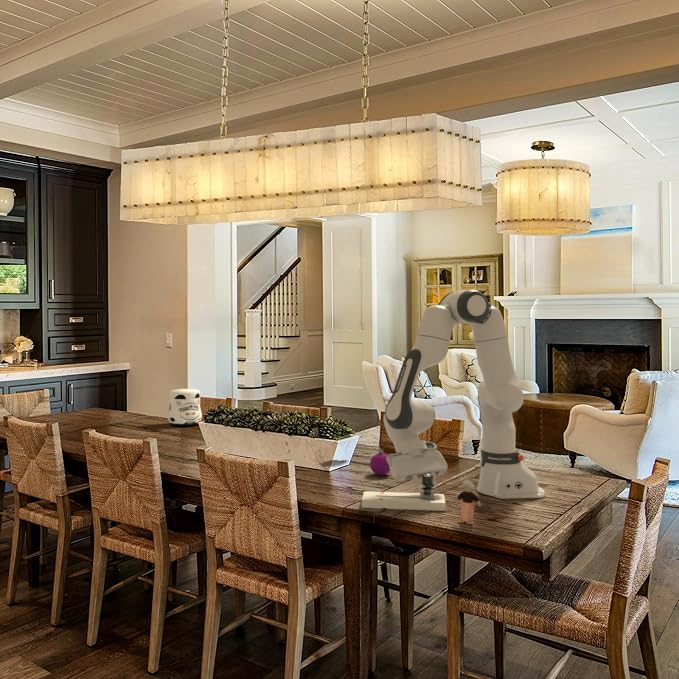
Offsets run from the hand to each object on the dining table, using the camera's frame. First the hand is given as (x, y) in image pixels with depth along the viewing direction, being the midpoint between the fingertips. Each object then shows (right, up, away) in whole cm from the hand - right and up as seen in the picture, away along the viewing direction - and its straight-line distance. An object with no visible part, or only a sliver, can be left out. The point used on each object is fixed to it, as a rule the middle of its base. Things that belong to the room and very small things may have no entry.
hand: (428, 487), depth 219 cm
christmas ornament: (-13, -4, +40) cm, 43 cm away
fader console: (-8, -6, +2) cm, 10 cm away
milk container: (-109, +2, +144) cm, 181 cm away
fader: (0, -3, +1) cm, 3 cm away
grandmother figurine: (+9, -7, -16) cm, 20 cm away
